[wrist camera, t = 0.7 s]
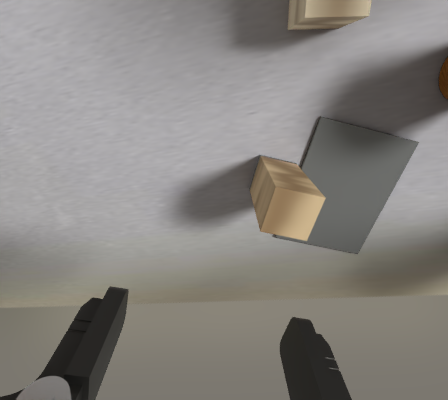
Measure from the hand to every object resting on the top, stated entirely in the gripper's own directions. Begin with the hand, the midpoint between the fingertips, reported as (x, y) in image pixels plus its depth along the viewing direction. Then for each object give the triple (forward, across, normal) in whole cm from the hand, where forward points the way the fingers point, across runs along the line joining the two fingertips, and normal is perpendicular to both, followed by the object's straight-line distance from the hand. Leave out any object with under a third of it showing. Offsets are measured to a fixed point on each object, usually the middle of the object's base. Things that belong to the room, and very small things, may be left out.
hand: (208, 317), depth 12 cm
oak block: (+22, -7, 0) cm, 23 cm away
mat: (+22, -16, 0) cm, 27 cm away
